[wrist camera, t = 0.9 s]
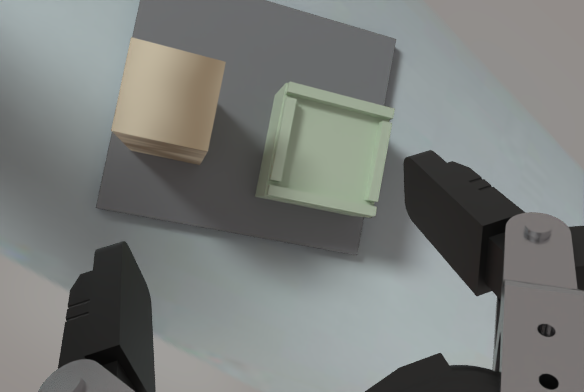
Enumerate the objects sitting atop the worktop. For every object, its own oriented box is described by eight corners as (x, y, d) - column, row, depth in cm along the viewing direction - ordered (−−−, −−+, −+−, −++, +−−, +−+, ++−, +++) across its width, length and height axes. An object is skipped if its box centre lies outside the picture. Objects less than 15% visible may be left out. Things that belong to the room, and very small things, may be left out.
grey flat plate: (98, 207, 35) (95, 208, 34) (148, -29, 36) (147, -35, 35) (352, 253, 39) (356, 255, 38) (391, 43, 40) (396, 39, 39)
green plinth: (255, 196, 36) (266, 196, 32) (274, 95, 37) (288, 79, 32) (352, 216, 38) (376, 218, 33) (370, 118, 38) (396, 107, 34)
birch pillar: (130, 150, 34) (111, 130, 24) (144, 83, 34) (131, 37, 25) (200, 165, 35) (207, 151, 26) (213, 99, 36) (225, 61, 26)
